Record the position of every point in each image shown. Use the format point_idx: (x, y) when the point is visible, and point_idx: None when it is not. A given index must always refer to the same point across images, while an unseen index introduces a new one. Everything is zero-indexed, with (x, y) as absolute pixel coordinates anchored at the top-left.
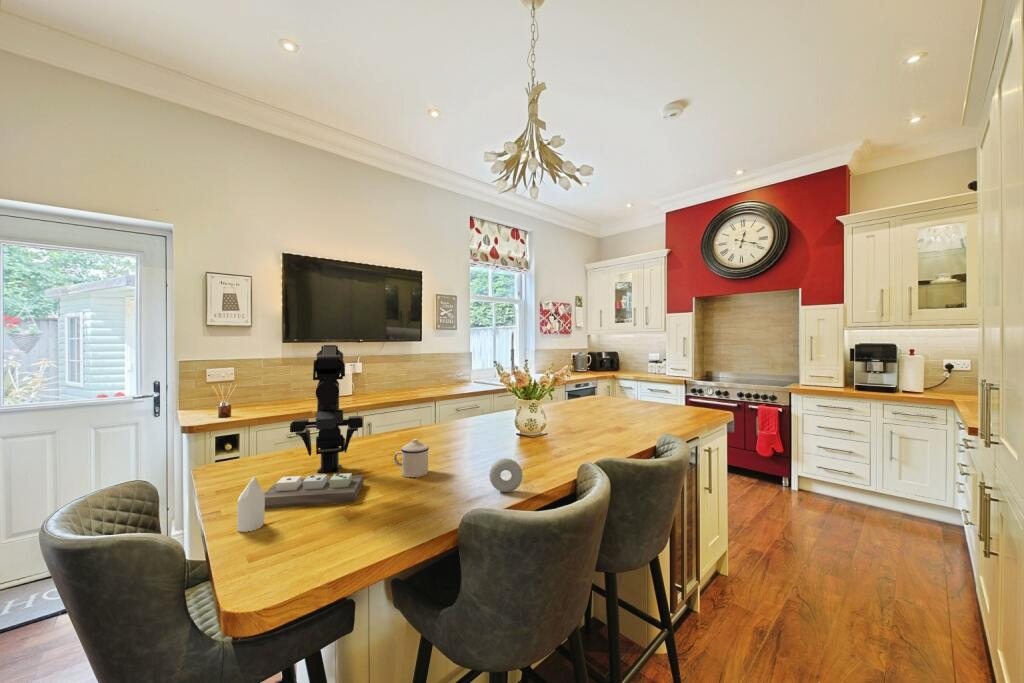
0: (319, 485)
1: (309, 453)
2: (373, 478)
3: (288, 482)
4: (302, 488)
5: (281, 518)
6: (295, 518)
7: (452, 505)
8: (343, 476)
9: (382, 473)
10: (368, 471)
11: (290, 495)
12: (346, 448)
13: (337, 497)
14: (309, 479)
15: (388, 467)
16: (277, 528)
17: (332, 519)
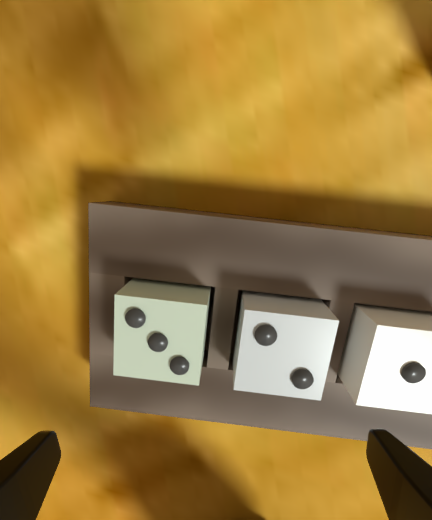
0: (255, 300)
1: (396, 445)
2: (82, 427)
3: (411, 328)
4: None
5: (370, 113)
6: (315, 96)
7: None
8: (145, 337)
9: (58, 466)
10: (112, 498)
11: (372, 238)
12: (2, 464)
13: (167, 209)
14: (310, 341)
15: (47, 515)
16: (374, 2)
17: (166, 39)
